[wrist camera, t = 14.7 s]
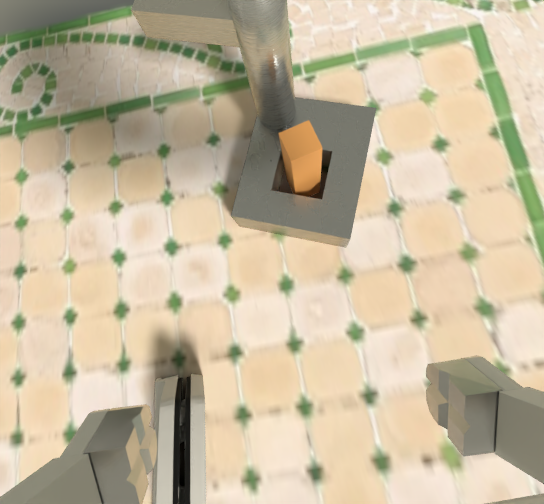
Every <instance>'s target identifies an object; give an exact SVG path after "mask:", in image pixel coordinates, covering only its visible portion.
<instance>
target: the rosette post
mask: <svg viewBox="0 0 544 504" xmlns="http://www.w3.org/2000/svg"><path fill="white" fill-rule="evenodd" d="M131 11H132V12H133V14H134V16H135V17H136V19H137V21H138V23H139V24H140V26H141V28H142V29H143V31H144V33H145V34H146V36H147V37H152V38H161V39H170V40H179V41H188V42H197V43H206V44H215V45H224V46H233V47H240V51H241V54H242V58H243V62H244V65H245V69H246V73H247V77H248V80H249V84H250V88H251V91H252V95H253V99H254V102H255V106H256V110H257V113H258V114H257V118H256V122H255V126H254V129H253V133H252V137H251V141H250V145H249V149H248V152H247V156H246V160H245V164H244V168H243V172H242V175H241V179H240V183H239V187H238V191H237V195H236V198H235V202H234V206H233V210H232V214H231V217H232V218H233V219H234V220H235V221H236V223H237V224H238V225H239V226H240V227H245V228H250V229H255V230H260V231H266V232H271V233H276V234H281V235H286V236H291V237H296V238H301V239H306V240H311V241H316V242H321V243H326V244H331V245H336V246H341V247H347V245H348V243H349V240H350V237H351V232H352V227H353V222H354V217H355V212H356V207H357V202H358V197H359V192H360V187H361V182H362V177H363V172H364V167H365V162H366V157H367V152H368V147H369V142H370V137H371V132H372V126H373V121H374V116H375V111H376V108H372V107H364V106H356V105H349V104H341V103H334V102H326V101H319V100H311V99H303V98H296V97H295V96H294V83H293V71H292V59H291V46H290V34H289V22H288V9H287V0H135V1H134V4H133V7H132V10H131ZM308 120H309V121H310V123H311V125H312V127H313V129H314V131H315V133H316V135H317V137H318V139H319V141H320V143H321V146H322V164H321V167H325V168H329V170H328V174H327V179H326V184H325V188H324V193H323V197H322V199H317V198H311V197H306V196H300V195H295V194H289V193H283V192H278V191H279V186H280V182H281V178H282V174H283V170H284V161H283V155H282V150H281V144H280V139H279V134H278V133H280V132H282V131H285V130H287V129H289V128H292V127H294V126H296V125H299V124H301V123H303V122H305V121H308Z"/></svg>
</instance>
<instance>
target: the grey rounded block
mask: <svg viewBox="0 0 544 504" xmlns="http://www.w3.org/2000/svg"><path fill="white" fill-rule="evenodd" d="M154 430H155V432H156V437H157V455H156V461H155V464H154V468H153V504H206V452H205V397H204V386H203V375H198V374H191V377H187V384H186V399H184V400H182V378H178V375H175V376H171V377H168V378H164V379H161V378H157V379H156V380H155V408H154ZM182 442H185V486H181V485H179V466H180V443H182Z"/></svg>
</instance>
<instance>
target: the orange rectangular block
mask: <svg viewBox="0 0 544 504" xmlns="http://www.w3.org/2000/svg"><path fill="white" fill-rule="evenodd" d="M278 134H279V139H280V144H281V150H282V155H283V161H284V166H285V171H286V177H287V181H288V183H289V186H290V188H291V190H292V192H293V194H295V195H300V196H306V197H309V196H312V195H314V194H316V193H319V192H320V181H321V164H322V146H321V143H320V141H319V139H318V137H317V135H316V133H315V131H314V129H313V127H312V125H311V123H310V121H309V120H308V121H305V122H303V123H301V124H299V125H296V126H294V127H292V128H289V129H287V130H285V131H282V132H280V133H278Z"/></svg>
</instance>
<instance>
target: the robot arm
mask: <svg viewBox="0 0 544 504" xmlns="http://www.w3.org/2000/svg"><path fill="white" fill-rule="evenodd" d="M426 377H427V378H428V379H429V381H430V382H431V384H430V385H429V387H428V388H427V390H426V400H427V404H428V407H429V411H430V413H431V414H432V416H433V418H434V419H435V421H436V422H437V423H438V425H440V426H442V427H444V428H446V429H448V438H449V439H450V440H451V441H452V443H453V444H454V445H455V446H456V448H457V449H458V450H459V452H460V453H461V454H462V455H463V456H470V455H478V454H486V453H494V452H495V454H496V455H498V456H499V457H501V458H503V459H504V460H506V461H507V462H509V463H511V464H512V465H514V466H515V467H517V468H519V469H520V470H522V471H524V472H525V473H527V474H528V475H530V476H532V477H533V478H535V479H536V480H538V481H540V482H541V483H543V484H544V392H542V391H539V390H536V389H533V388H530V387H526V388H523V387H522V386H520V385H519V384H518V383H516V382H515V381H514V380H512V379H511V378H510V377H508V376H507V375H506V374H504V373H503V372H502V371H500V370H499V369H498V368H496V367H495V366H494V365H492V364H491V363H490V362H488V361H487V360H486V359H485V358H483V357H481V356H472V357H466V358H461V359H457V360H451V361H445V362H438V363H432V364H428V366H427V369H426ZM151 418H152V415H151V411H150V407H149V406H148V405H147V404H145V405H137V406H128V407H120V408H112V409H105V410H98V411H93V412H91V413H89V414H88V416H87V417H86V419H85V420H84V422H83V423H82V425H81V426H80V428H79V429H78V431H77V432H76V434H75V435H74V437H73V438H72V440H71V441H70V443H69V444H68V446H67V447H66V449H65V450H64V452H63V453H62V455H61V456H60V458H55V459H52V460H51V461H50V462H48V463H47V464H45V465H44V466H43V467H41V468H40V469H39V470H37V471H36V472H34V473H33V474H32V475H30V476H29V477H27V478H26V479H25V480H23V481H22V482H21V483H19V484H18V485H16V486H15V487H14V488H12V489H11V490H9V491H8V492H7V493H5V494H4V495H2V496H1V497H0V504H142V503H143V500H144V496H145V493H146V490H147V487H148V484H149V483H148V479H147V474H148V473H149V472H150V471H151V470H152V469H153V468H154V464H155V461H156V455H157V437H156V432H155V430H154V429H153V428H152V427H150V426H149V424H150V421H151ZM486 504H544V494H538V495H533V496H527V497H521V498H515V499H510V500H504V501H498V502H492V503H486Z"/></svg>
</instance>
